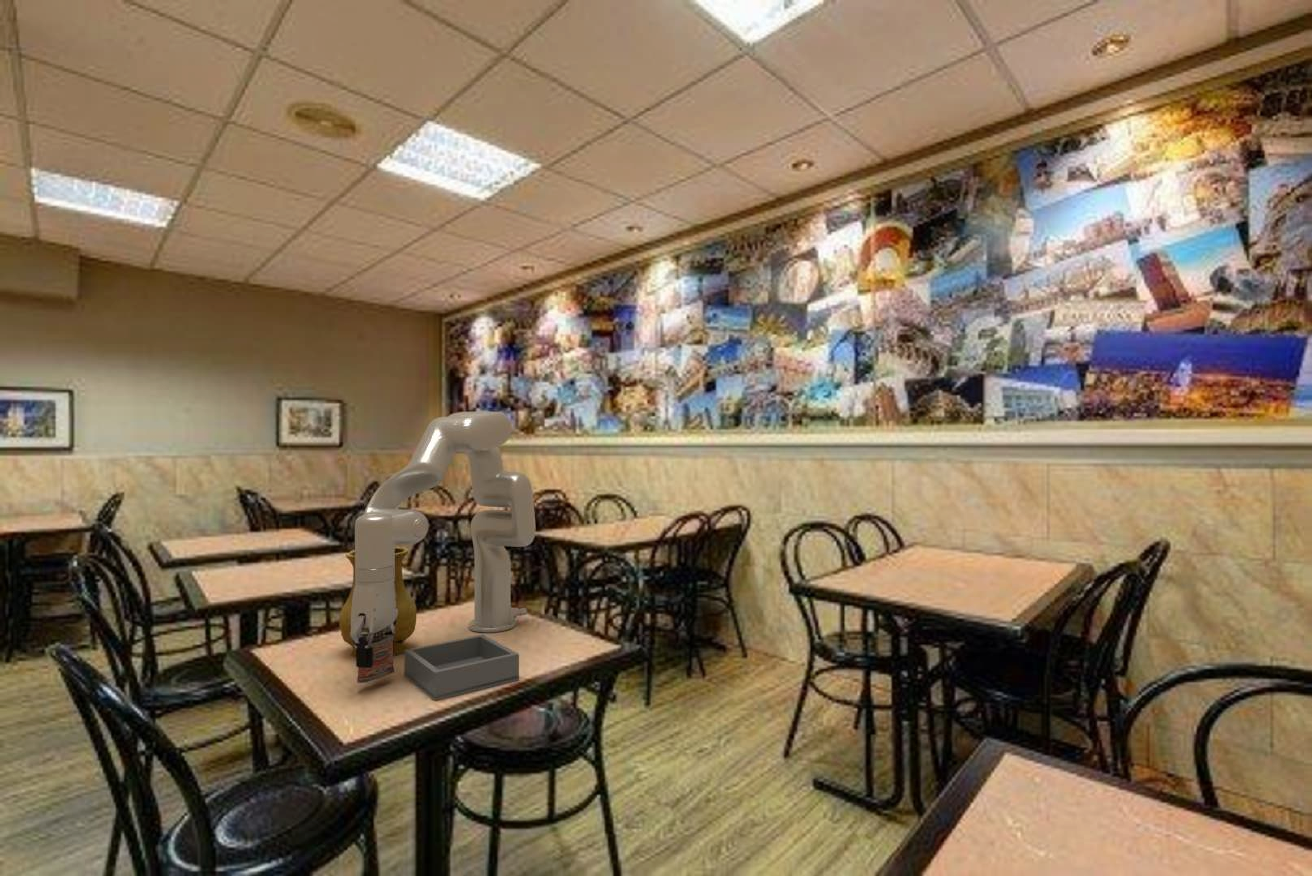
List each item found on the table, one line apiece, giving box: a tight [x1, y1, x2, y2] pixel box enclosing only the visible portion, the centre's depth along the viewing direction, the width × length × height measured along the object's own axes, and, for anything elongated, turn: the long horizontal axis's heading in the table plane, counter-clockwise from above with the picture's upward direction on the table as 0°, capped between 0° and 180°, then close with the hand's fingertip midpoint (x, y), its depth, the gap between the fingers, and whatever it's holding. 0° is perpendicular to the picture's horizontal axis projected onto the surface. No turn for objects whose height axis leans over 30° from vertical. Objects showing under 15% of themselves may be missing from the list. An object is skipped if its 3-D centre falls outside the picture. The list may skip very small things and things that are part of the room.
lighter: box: [356, 626, 395, 684], centre depth 136 cm, size 8×3×10 cm, turn 150°
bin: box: [403, 634, 520, 702], centre depth 141 cm, size 18×18×6 cm
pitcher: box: [338, 546, 417, 658], centre depth 158 cm, size 17×19×25 cm
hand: (375, 659), depth 136 cm, fingers closed on lighter, 7 cm apart
